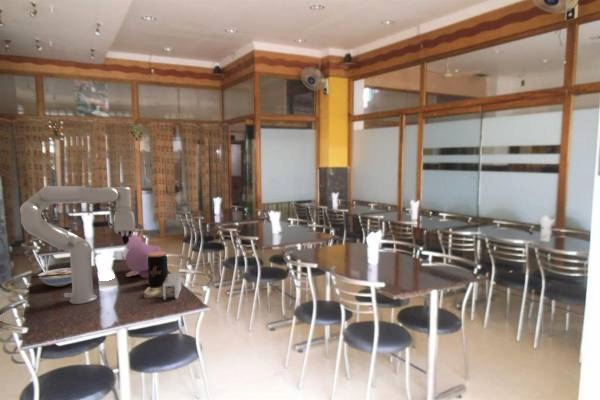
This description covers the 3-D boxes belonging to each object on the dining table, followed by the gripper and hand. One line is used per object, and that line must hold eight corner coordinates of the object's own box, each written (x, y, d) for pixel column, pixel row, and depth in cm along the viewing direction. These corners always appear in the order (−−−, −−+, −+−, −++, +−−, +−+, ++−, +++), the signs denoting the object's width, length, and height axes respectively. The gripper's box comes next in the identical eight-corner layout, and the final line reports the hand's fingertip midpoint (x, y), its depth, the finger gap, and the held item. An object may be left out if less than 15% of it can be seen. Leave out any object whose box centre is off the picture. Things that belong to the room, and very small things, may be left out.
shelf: (163, 299, 216) (162, 284, 216) (168, 288, 236) (168, 273, 235) (177, 298, 218) (176, 283, 217) (181, 287, 237) (181, 273, 236)
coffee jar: (144, 285, 242) (143, 254, 240) (157, 280, 252) (156, 251, 250) (159, 287, 238) (158, 256, 236) (172, 282, 248) (170, 252, 246)
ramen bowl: (88, 277, 260) (87, 264, 259) (81, 288, 238) (80, 274, 237) (42, 282, 252) (41, 268, 251) (31, 293, 230) (30, 278, 230)
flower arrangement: (122, 277, 277) (110, 237, 273) (158, 265, 289) (147, 226, 286) (133, 285, 247) (119, 239, 244) (172, 271, 259) (159, 227, 256)
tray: (144, 298, 220) (143, 292, 219) (148, 292, 229) (147, 287, 229) (173, 296, 222) (173, 291, 221) (176, 290, 232) (176, 285, 231)
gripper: (107, 210, 221) (109, 245, 223) (137, 209, 224) (139, 243, 226) (111, 209, 229) (113, 242, 230) (140, 208, 231) (141, 241, 233)
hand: (125, 243), depth 228 cm, fingers closed
